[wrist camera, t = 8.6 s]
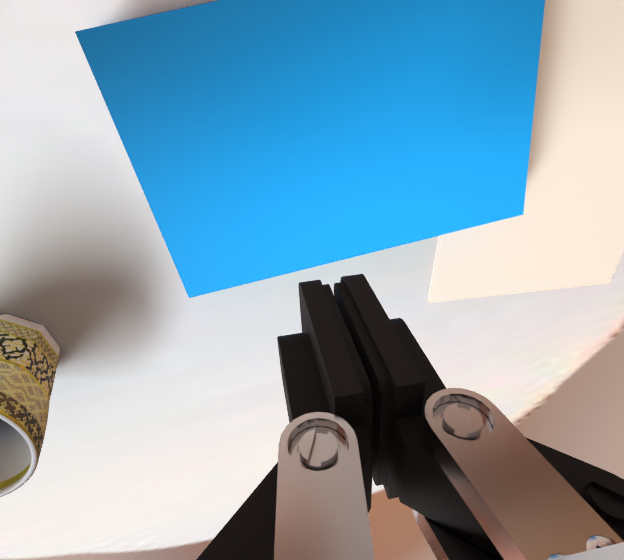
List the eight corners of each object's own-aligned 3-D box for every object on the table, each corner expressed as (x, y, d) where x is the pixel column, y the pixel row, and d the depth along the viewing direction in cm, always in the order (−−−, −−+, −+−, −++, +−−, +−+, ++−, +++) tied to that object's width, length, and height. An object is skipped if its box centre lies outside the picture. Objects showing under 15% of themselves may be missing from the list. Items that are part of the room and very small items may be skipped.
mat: (511, -179, 22) (513, -180, 22) (799, -156, 25) (803, -157, 25) (427, 301, 38) (428, 302, 38) (607, 282, 41) (609, 283, 41)
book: (70, 32, 20) (558, -82, 21) (95, 31, 24) (510, -66, 25) (192, 307, 30) (528, 222, 30) (197, 276, 33) (497, 200, 34)
